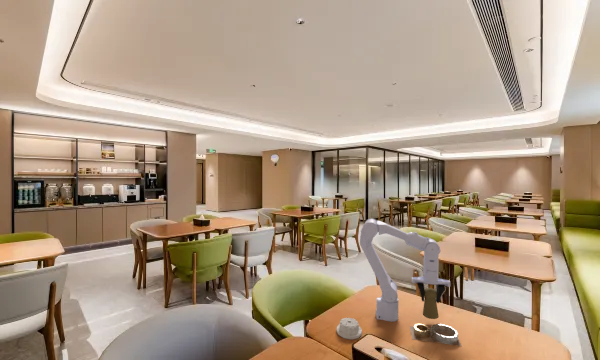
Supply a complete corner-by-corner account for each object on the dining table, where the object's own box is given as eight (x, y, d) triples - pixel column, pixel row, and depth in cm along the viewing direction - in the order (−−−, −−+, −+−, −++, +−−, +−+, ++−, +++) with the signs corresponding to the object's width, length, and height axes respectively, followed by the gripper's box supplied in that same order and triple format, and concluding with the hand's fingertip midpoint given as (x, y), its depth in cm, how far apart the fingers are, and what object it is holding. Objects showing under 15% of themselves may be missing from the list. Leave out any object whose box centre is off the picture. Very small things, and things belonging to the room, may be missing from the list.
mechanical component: (366, 332, 115) (346, 322, 122) (366, 321, 115) (346, 312, 122) (352, 343, 108) (331, 332, 115) (352, 332, 108) (331, 321, 115)
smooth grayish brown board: (412, 341, 109) (412, 339, 109) (409, 328, 117) (409, 326, 117) (461, 348, 104) (461, 346, 104) (455, 334, 113) (455, 332, 113)
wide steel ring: (433, 342, 107) (433, 335, 107) (429, 328, 116) (429, 322, 115) (460, 345, 104) (460, 339, 104) (453, 331, 113) (454, 325, 113)
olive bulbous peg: (440, 319, 116) (440, 292, 115) (424, 318, 117) (424, 292, 116) (436, 311, 122) (435, 286, 121) (421, 311, 123) (420, 286, 122)
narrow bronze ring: (415, 337, 110) (415, 330, 110) (413, 328, 115) (413, 322, 115) (430, 339, 109) (430, 332, 108) (428, 330, 114) (428, 324, 114)
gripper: (447, 267, 120) (446, 298, 121) (410, 264, 124) (410, 295, 125) (452, 273, 114) (451, 306, 114) (413, 270, 117) (412, 302, 118)
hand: (430, 301), depth 119 cm, fingers closed on olive bulbous peg, 5 cm apart
